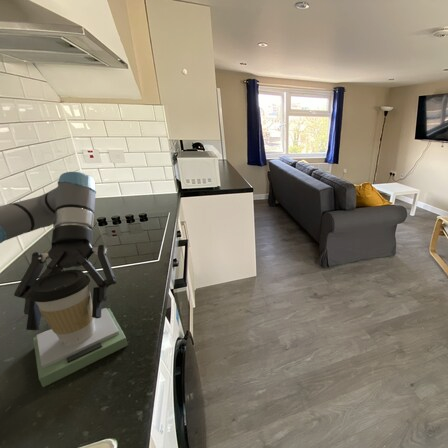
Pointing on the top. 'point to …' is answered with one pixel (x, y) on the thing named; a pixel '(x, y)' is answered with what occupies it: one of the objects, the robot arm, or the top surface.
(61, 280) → the coffee cup
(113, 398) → the top surface
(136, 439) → the top surface
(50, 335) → the kitchen scale
